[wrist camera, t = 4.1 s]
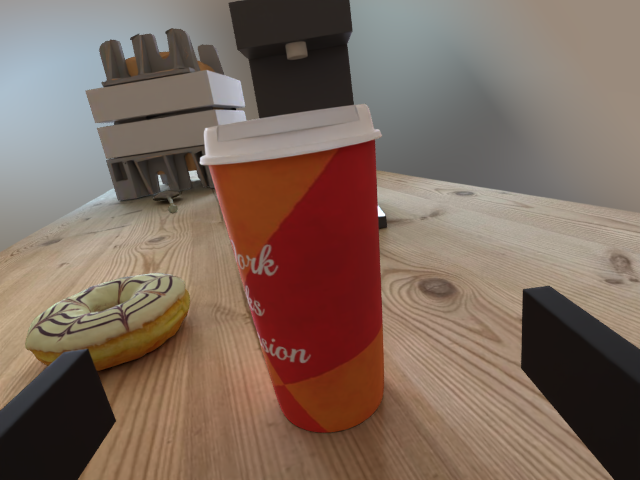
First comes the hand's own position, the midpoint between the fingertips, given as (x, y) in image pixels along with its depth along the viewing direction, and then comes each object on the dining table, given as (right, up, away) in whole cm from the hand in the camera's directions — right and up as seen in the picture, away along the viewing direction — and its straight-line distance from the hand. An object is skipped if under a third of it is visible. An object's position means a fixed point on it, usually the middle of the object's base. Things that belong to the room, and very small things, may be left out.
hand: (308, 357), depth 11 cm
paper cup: (+1, -5, +8) cm, 10 cm away
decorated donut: (-15, -4, +17) cm, 23 cm away
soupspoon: (-34, +11, +74) cm, 82 cm away
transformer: (-39, +21, +107) cm, 116 cm away
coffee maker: (+1, +6, +43) cm, 43 cm away
